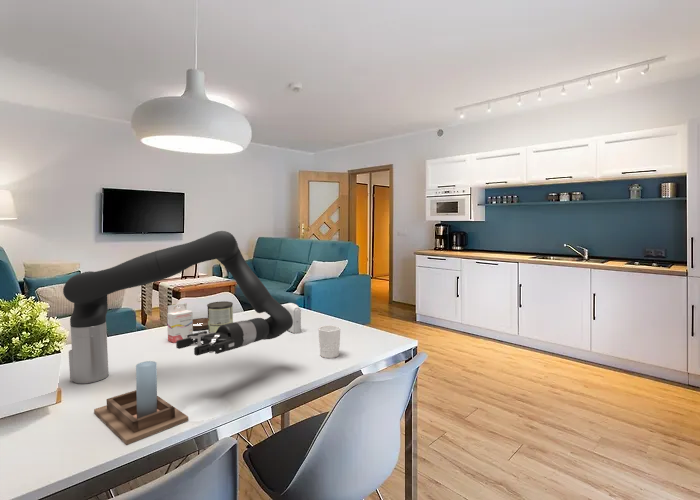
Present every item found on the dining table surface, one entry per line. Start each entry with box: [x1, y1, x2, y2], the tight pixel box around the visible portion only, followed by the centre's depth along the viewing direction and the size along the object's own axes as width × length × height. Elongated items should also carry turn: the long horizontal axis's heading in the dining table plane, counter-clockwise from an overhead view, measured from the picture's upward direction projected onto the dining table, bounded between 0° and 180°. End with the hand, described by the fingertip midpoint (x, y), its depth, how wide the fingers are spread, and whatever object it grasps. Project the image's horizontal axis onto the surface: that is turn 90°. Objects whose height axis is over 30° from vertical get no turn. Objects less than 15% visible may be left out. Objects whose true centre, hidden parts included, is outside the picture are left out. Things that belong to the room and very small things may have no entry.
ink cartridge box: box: [166, 302, 194, 344], centre depth 163 cm, size 9×5×15 cm, turn 141°
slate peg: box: [135, 360, 158, 419], centre depth 96 cm, size 4×4×13 cm
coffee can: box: [206, 300, 234, 333], centre depth 167 cm, size 10×10×14 cm
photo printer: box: [283, 302, 302, 334], centre depth 176 cm, size 10×4×12 cm, turn 36°
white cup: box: [318, 324, 341, 359], centre depth 143 cm, size 8×8×10 cm
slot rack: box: [93, 389, 190, 446], centre depth 99 cm, size 22×14×4 cm, turn 49°
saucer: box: [192, 317, 208, 331], centre depth 183 cm, size 15×15×3 cm
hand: (185, 348), depth 104 cm, fingers open, 8 cm apart
